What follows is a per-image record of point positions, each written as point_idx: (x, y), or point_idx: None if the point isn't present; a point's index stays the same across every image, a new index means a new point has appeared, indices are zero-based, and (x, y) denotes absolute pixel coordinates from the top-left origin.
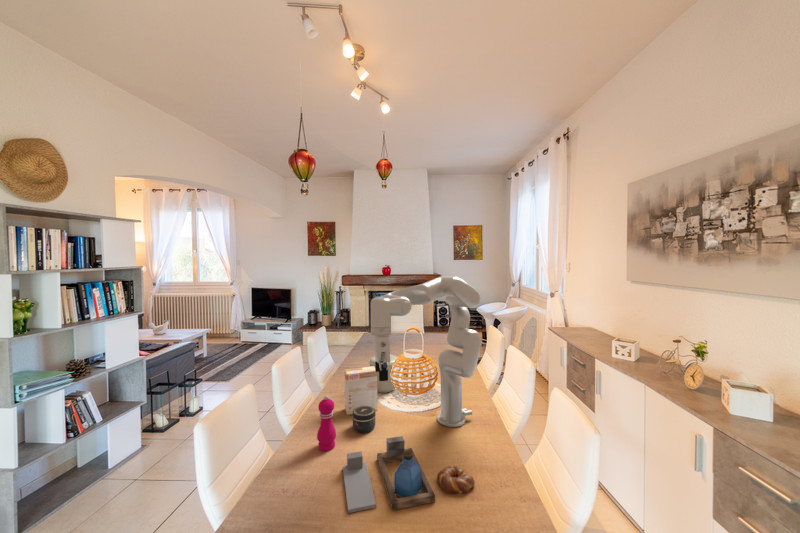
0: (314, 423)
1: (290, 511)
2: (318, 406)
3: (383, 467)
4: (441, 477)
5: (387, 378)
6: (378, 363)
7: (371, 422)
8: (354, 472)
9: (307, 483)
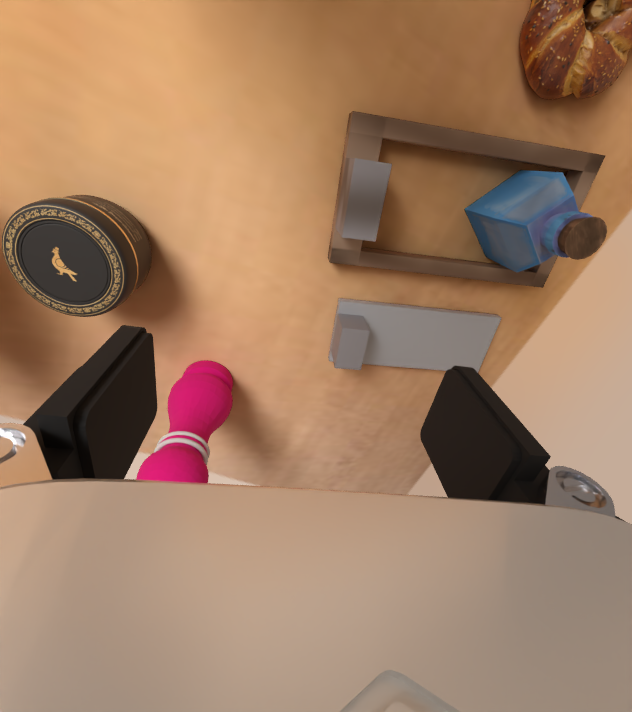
0: None
1: (406, 452)
2: None
3: (407, 265)
4: (569, 81)
5: (479, 382)
6: (107, 467)
7: (130, 231)
8: (370, 339)
9: (344, 427)
